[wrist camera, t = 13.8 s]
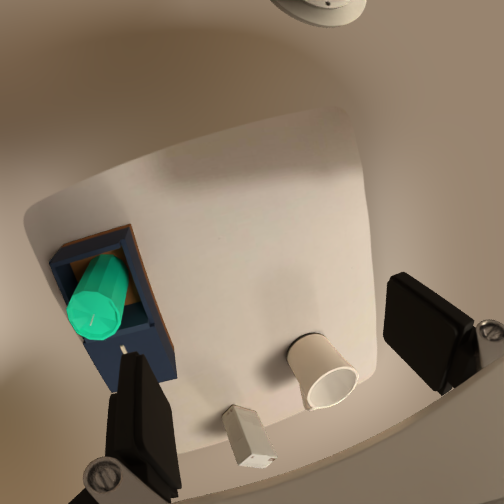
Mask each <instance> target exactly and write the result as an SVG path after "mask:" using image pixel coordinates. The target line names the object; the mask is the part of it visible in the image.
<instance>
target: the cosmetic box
mask: <svg viewBox="0 0 504 504" xmlns="http://www.w3.org/2000/svg"><path fill="white" fill-rule="evenodd" d="M222 420H223V423H224V426H225V429H226V432H227V435H228V438H229V441H230V444H231V447H232V450H233V453H234V456H235V458H236V461H237V464H238V465H240V466H247V467H256V468H263V469H264V468H266V467H267V466H268V465H269V464H270V463H272V462H273V461H274V460H275V459H276V458H277V457H278V456H277V454H276V452H275V450H274V448H273V446H272V444H271V442H270V440H269V437H268V435H267V433H266V431H265V429H264V427H263V425H262V423H261V420H260V418H259V416H258V414H257V412H256V411H252V410H248V409H245V408H242V407H238V406H235V405H232V406H231V407H230V408H229V409H228V410H227V411H226V412H225V413H224V414H223V416H222Z"/></svg>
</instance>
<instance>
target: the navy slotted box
mask: <svg viewBox="0 0 504 504" xmlns="http://www.w3.org/2000/svg"><path fill="white" fill-rule="evenodd" d="M100 254H110V255H114V256H116V257H117V258H119V259H121V260H122V261H123V262H124V264H125V266H126V267H127V269H128V270H129V283H128V288H127V293H126V298H125V303H124V309H123V314H122V320H121V325H120V326H119V328H118V330H117V331H116V333H115V334H114V335H112V336H110V337H108V338H106V339H104V340H89V339H87V338H85V337H83V336H82V337H83V339H84V342H83V345H84V347H85V349H86V350H87V352H88V354H89V356H90V358H91V359H92V361H93V363H94V365H95V366H96V368H97V370H98V371H99V373H100V375H101V376H102V378H103V380H104V381H105V383H106V384H107V386H108V388H109V389H110V391H111V392H112V393H113V392H117V390H118V379H119V370H120V361H121V355H122V354H126V353H131V352H135V351H137V352H138V353H139V355H141V354H144V355H145V357H146V359H147V361H148V363H149V365H150V367H151V369H152V371H153V373H154V375H155V377H156V379H157V381H158V383H160V382H164V381H169V380H173V379H177V371H176V362H175V353H174V346H173V344H172V341H171V339H170V336H169V334H168V331H167V329H166V326H165V324H164V321H163V318H162V316H161V313H160V310H159V308H158V305H157V302H156V300H155V297H154V294H153V291H152V288H151V285H150V283H149V280H148V277H147V274H146V271H145V268H144V265H143V262H142V259H141V256H140V252H139V249H138V246H137V243H136V240H135V236H134V233H133V230H132V226H131V224H128V225H125V226H121V227H118V228H114V229H111V230H108V231H104V232H101V233H98V234H95V235H91V236H88V237H85V238H82V239H79V240H76V241H72V242H69V243H66V244H64V245H63V246H62V247H61V248H60V249H59V250H58V252H57V253H56V254H55V255H54V256H53V257H52V259H51V260H50V261H49V265H50V267H51V270H52V272H53V275H54V277H55V280H56V282H57V284H58V287H59V289H60V291H61V294H62V296H63V298H64V300H65V302H66V305H67V306H68V304H69V302H70V300H71V297H72V295H73V293H74V291H75V289H76V287H77V285H78V284H79V282H80V280H81V278H82V276H83V274H84V272H85V270H86V269H87V267H88V265H89V263H90V261H91V260H92V259H93V258H95V257H97V256H99V255H100Z"/></svg>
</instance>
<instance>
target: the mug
mask: <svg viewBox="0 0 504 504" xmlns="http://www.w3.org/2000/svg"><path fill="white" fill-rule="evenodd" d="M287 362H288V364H289V365H290V367H291V369H292V371H293V373H294V375H295V377H296V378H297V380H298V382H299V385H300V391H301V395H302V400H303V404H304V407H305V409H306V410H308V411H314V410H316V409H317V408H327V407H330V406H333V405H335V404H337V403H339V402H341V401H342V400H344V399H345V398H346V397H347V396H348V395H349V394H350V393H351V392H352V391H353V389H354V388H355V386H356V384H357V382H358V372H357V371H356V370H355V369H354V367H353V366H351V365H350V364H349V363H348V362H347V361H346V360H345V359H344V358H343V357H342V355H341V354H340V353H339V352H338V351H337V350H336V349H335V347H334V346H333V345H332V344H331V343H330V342H329V341H328V339H327V338H326V337H325V336H324V335H322V334H319V333H309V334H306V335H303V336H301V337H299V338H298V339H297V340H296V341H294V342H293V344H292V345H291V346H290V348H289V350H288V353H287ZM310 405H311V406H312V407H311V406H310Z"/></svg>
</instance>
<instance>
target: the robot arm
mask: <svg viewBox="0 0 504 504" xmlns="http://www.w3.org/2000/svg"><path fill="white" fill-rule="evenodd" d="M300 1H302V2H304V3H306V4H308V5H310V6H313V7H316V8H320V9H327V10H331V9H337V8H341V7H343V6H345V5H346V4H348V3H349V2H350V1H351V0H300ZM473 324H474V320H473V319H472V318H470V317H469V316H468V315H466V314H465V313H464V312H462V311H461V310H459V309H458V308H457V307H455V306H454V305H452V304H451V303H449V302H448V301H447V300H445V299H444V298H442V297H441V296H440V295H438V294H437V293H435V292H434V291H432V290H431V289H429V288H428V287H426V286H425V285H423V284H422V283H420V282H419V281H417V280H416V279H414V278H413V277H411V276H410V275H409V274H407V273H405V272H401V273H399V274H396V275H393V276H391V277H390V280H389V281H388V283H387V294H386V307H385V319H384V330H383V337H384V340H385V341H386V343H387V344H388V345H389V346H390V347H391V348H392V349H393V350H394V351H395V352H396V353H397V354H398V355H399V356H400V357H401V358H402V359H403V360H404V361H405V362H406V363H407V364H408V365H409V366H410V367H411V368H412V369H413V370H414V371H415V372H416V373H417V374H418V375H419V376H420V377H421V378H422V379H423V380H424V382H425V383H427V385H428V386H429V387H430V388H431V389H432V390H433V391H438V392H439V394H441V396H442V395H444V394H446V393H447V392H448V391H450V390H451V389H452V387H454V388H455V389H453V390H452V391H450V392H449V393H447V394H446V395H444V396H443V397H441V398H440V399H439V400H437V401H435V402H433V403H432V404H430V405H429V406H427V407H425V408H424V409H422V410H420V411H419V412H417V413H415V414H414V415H412V416H411V417H409V418H407V419H405V420H403V421H402V422H400V423H398V424H396V425H394V426H392V427H391V428H389V429H387V430H385V431H383V432H381V433H379V434H377V435H375V436H373V437H371V438H370V439H367V440H365V441H363V442H361V443H359V444H357V445H354V446H352V447H350V448H348V449H346V450H343V451H341V452H339V453H336V454H334V455H332V456H330V457H327V458H324V459H322V460H319V461H317V462H314V463H312V464H309V465H306V466H304V467H301V468H298V469H296V470H292V471H289V472H287V473H284V474H281V475H277V476H274V477H271V478H268V479H265V480H261V481H258V482H254V483H251V484H247V485H244V486H240V487H236V488H233V489H228V490H224V491H221V492H216V493H211V494H207V495H204V496H199V497H195V498H191V499H186V500H182V501H178V502H175V503H171V498H176V497H178V492H177V489H181V488H182V485H181V478H180V472H179V465H178V459H177V451H176V444H175V436H174V428H173V419H172V411H171V407H170V404H169V402H168V400H167V398H166V396H165V395H164V393H163V391H162V389H161V387H160V385H159V383H158V381H157V379H156V377H155V375H154V373H153V371H152V369H151V367H150V365H149V363H148V361H147V359H146V357H145V355H144V354H141V355H139V353H138V352H137V351H135V352H131V353H126V354H122V355H121V361H120V370H119V379H118V390H117V393H115V394H111V396H110V399H109V409H108V419H107V432H106V448H105V457H100V458H97V459H95V460H94V461H92V462H90V464H89V465H88V466H87V467H86V469H85V471H84V474H83V482H84V485H85V487H86V488H85V489H83V490H82V491H81V492H80V493H79V494H78V495H77V496H76V497H75V498H74V499H73V500H72V501H71V502H69V503H68V504H504V325H503V324H502V323H500V322H498V321H495V320H483V321H481V322H480V323H478V325H477V327H476V328H475V327H474V326H473Z"/></svg>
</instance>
